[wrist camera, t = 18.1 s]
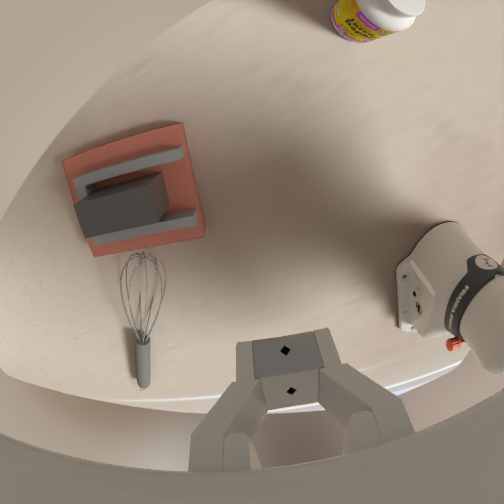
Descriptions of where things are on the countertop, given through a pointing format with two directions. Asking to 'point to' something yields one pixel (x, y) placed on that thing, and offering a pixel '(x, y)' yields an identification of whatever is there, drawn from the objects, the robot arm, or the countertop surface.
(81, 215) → the dark gray eraser
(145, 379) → the kitchen whisk
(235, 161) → the countertop surface
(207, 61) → the countertop surface
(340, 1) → the supplement bottle
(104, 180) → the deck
